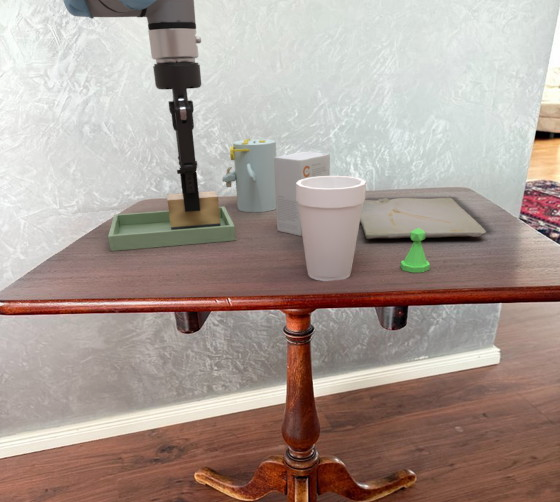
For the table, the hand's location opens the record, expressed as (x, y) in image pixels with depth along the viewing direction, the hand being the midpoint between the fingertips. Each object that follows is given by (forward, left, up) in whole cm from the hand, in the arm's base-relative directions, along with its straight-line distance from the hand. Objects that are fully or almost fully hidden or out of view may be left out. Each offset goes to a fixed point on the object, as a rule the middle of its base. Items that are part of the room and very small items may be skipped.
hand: (191, 207), depth 99 cm
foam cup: (+18, -29, -5) cm, 34 cm away
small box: (+20, -4, -5) cm, 21 cm away
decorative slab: (+41, -6, -5) cm, 42 cm away
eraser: (0, 0, -4) cm, 4 cm away
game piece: (+31, -30, -5) cm, 43 cm away
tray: (-4, 0, -5) cm, 6 cm away
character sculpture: (+13, +16, -5) cm, 22 cm away
